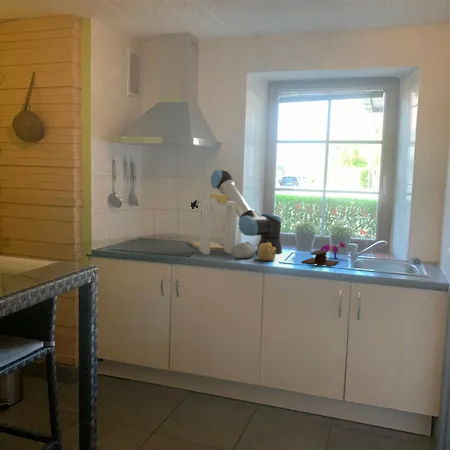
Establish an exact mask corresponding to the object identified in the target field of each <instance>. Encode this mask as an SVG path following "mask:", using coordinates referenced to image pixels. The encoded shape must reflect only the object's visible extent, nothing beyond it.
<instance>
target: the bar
mask: <svg viewBox="0 0 450 450" xmlns="http://www.w3.org/2000/svg"><path fill="white" fill-rule="evenodd" d="M209 198H210V200H211V198H215V199H218V202H223V203H228V195H222V194H217V193H216V192H215V193H214V192H213V193H212V192H210V193H209Z"/></svg>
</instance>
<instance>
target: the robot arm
mask: <svg viewBox="0 0 450 450" xmlns="http://www.w3.org/2000/svg"><path fill="white" fill-rule="evenodd" d="M224 170H225V169H216V170H214V171H213V172H212V174H211V175H210V185H211V187H212V189H217V191H218V190H219V191H220V193H222V194H224V195H228V201H232V202H237V209H236V215H237V216H238V218H239V219H238V228H239V231H240V233H242V234H243V235H244V236H249V237H253V236H254V237H255V236H260V240H259V241H258V245H257V248H256V251H257V252H258V246H259V245H260V244H262V243H267V242H270V243H271V244H272V246H273V247H275V248H276V251H275V255H276V254H282V253H283V247H282V243H281V240H280V239H281V228H282V227H281V225H282V217H281V215H278V214H270V213H264V212H262V213H261V215H259V214H258V212H256V210H254V209H251V207H250V206H249V204H248V203H247V201H246V200H245V198H244V197H243V195H242V194H241V192H240V191H239V190H237V188H236V187H235V183H236V182H235V181H234V179H233V178H232V176H231V175H230V174H229V173H228V172H227V171H224ZM196 198H197V200H195V201H194V202H193V203H192V202H191V207H192V209H194V207H196V208H198V205H197V204H198V203H199V201H200V198H199V197H198V196H197V197H196Z"/></svg>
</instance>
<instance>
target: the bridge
mask: <svg viewBox="0 0 450 450" xmlns="http://www.w3.org/2000/svg"><path fill="white" fill-rule="evenodd" d="M201 201H202V211H201V224H200V236H199V237H200V238H199V241H200V250H199V252H200V253H202V254H203V255H210V254H211V253H210V252H211V250H210V241H211V230H212V229H211V227H212V226H211V225H212V212H211V210H212V205H221V206H224V207H225V220H224V221H225V222H224V223H225V225H224V238H223V239H224V241H223V243H224V244H223V247H224V250H223V252H225V253H226V254H229V255H233V254H232V250H233V249H234V248H235V246H236V244H235V243H236V224H237V213H236V209H237V202H232V201H228V203H223V202H218V199H215V198H211V201H207V200H205V199H204V200H203V199H202V200H201Z"/></svg>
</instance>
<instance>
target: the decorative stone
mask: <svg viewBox="0 0 450 450" xmlns="http://www.w3.org/2000/svg"><path fill="white" fill-rule="evenodd" d="M231 255H232V256H234V258H236V259H244V260H245V259H250V258H252V257H254V256H255V255H256V248H255V247H254V245H253V244H252V243H251V242H249V241H245V242H240V243H237V244H235V248H234V249H233V250H232V254H231Z"/></svg>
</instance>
